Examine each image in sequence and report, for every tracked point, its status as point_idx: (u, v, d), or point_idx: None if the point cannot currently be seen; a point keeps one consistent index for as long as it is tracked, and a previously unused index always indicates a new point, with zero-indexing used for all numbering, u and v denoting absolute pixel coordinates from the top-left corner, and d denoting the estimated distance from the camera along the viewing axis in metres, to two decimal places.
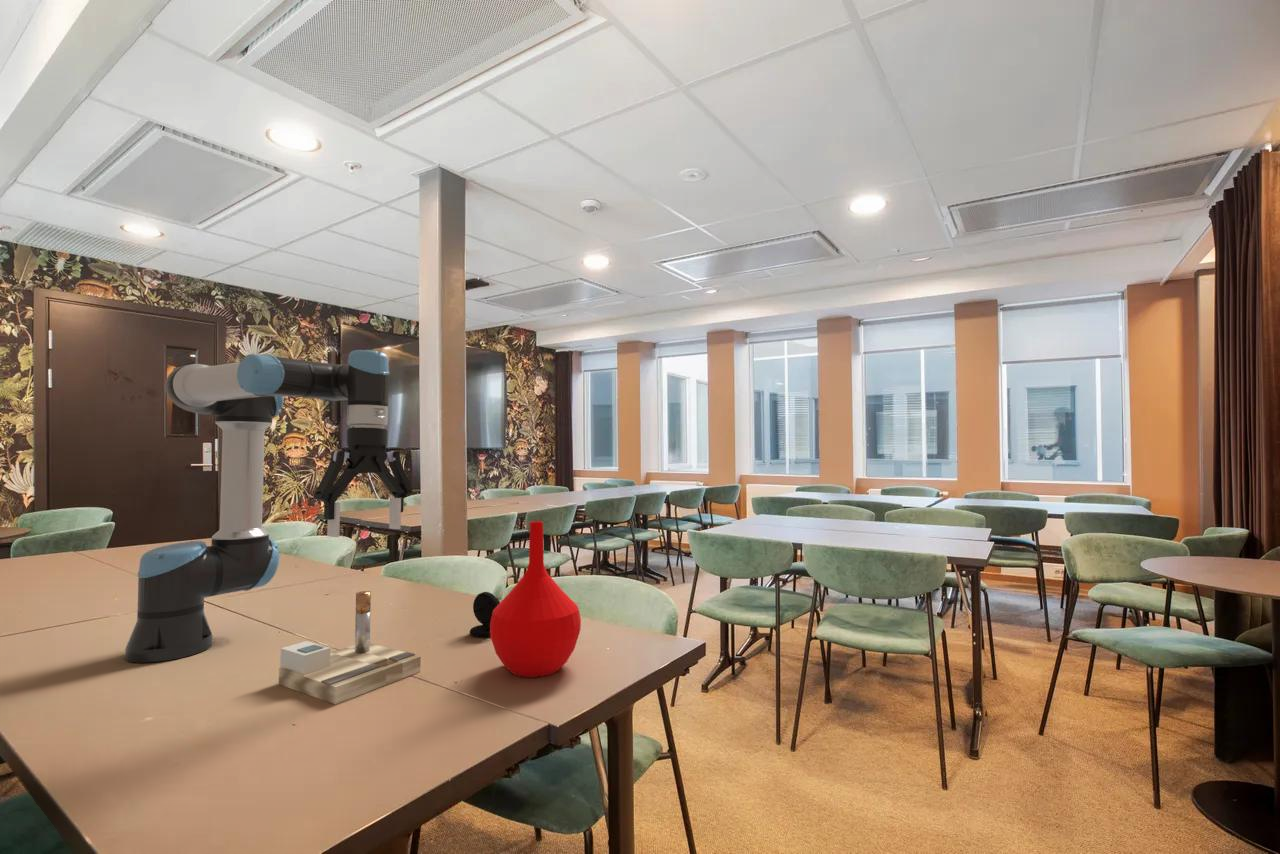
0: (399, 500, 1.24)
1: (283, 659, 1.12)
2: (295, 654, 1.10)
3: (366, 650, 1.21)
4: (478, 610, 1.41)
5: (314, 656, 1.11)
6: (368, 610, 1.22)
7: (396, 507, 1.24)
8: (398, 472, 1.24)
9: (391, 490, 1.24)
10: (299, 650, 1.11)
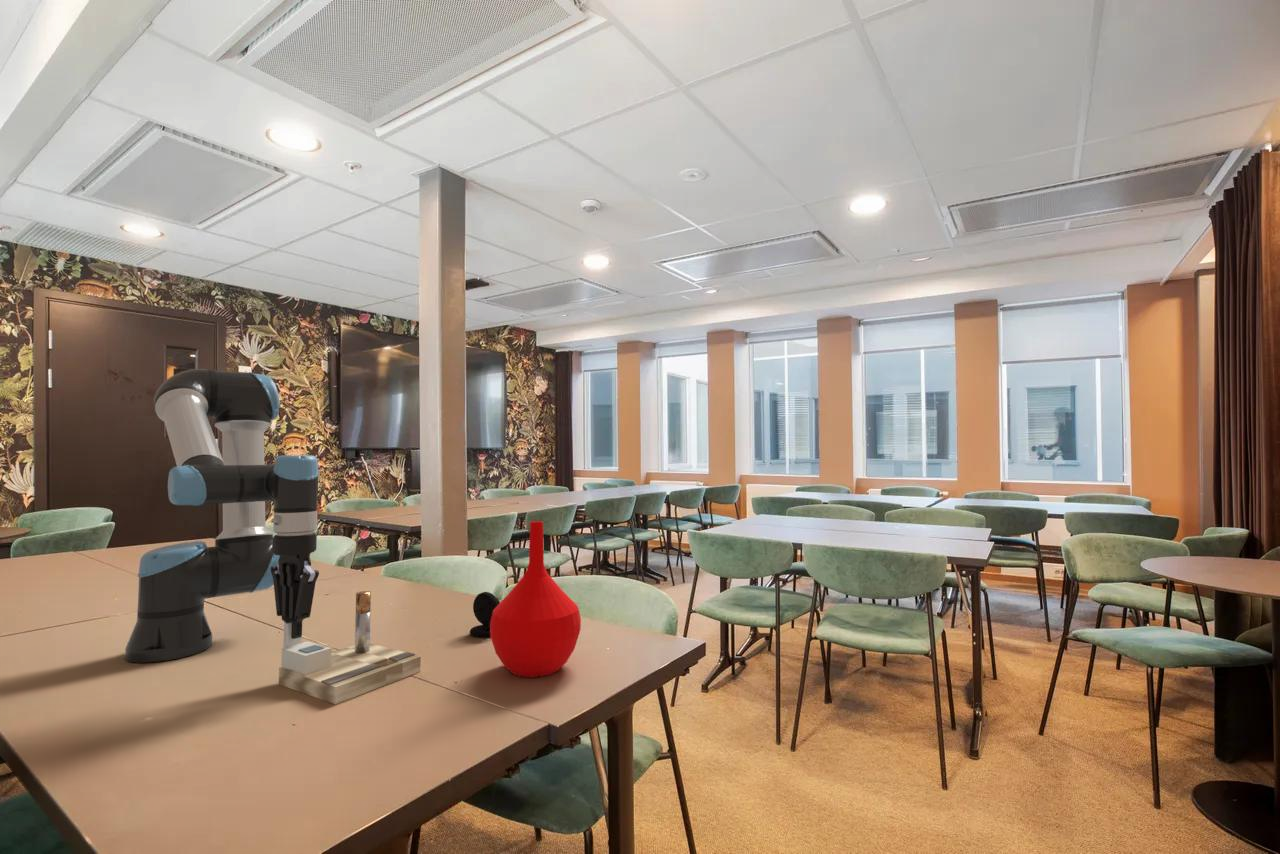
0: (286, 625, 1.14)
1: (284, 659, 1.12)
2: (296, 654, 1.10)
3: (366, 650, 1.21)
4: (478, 610, 1.41)
5: (315, 657, 1.10)
6: (368, 610, 1.22)
7: None
8: None
9: None
10: (301, 651, 1.11)
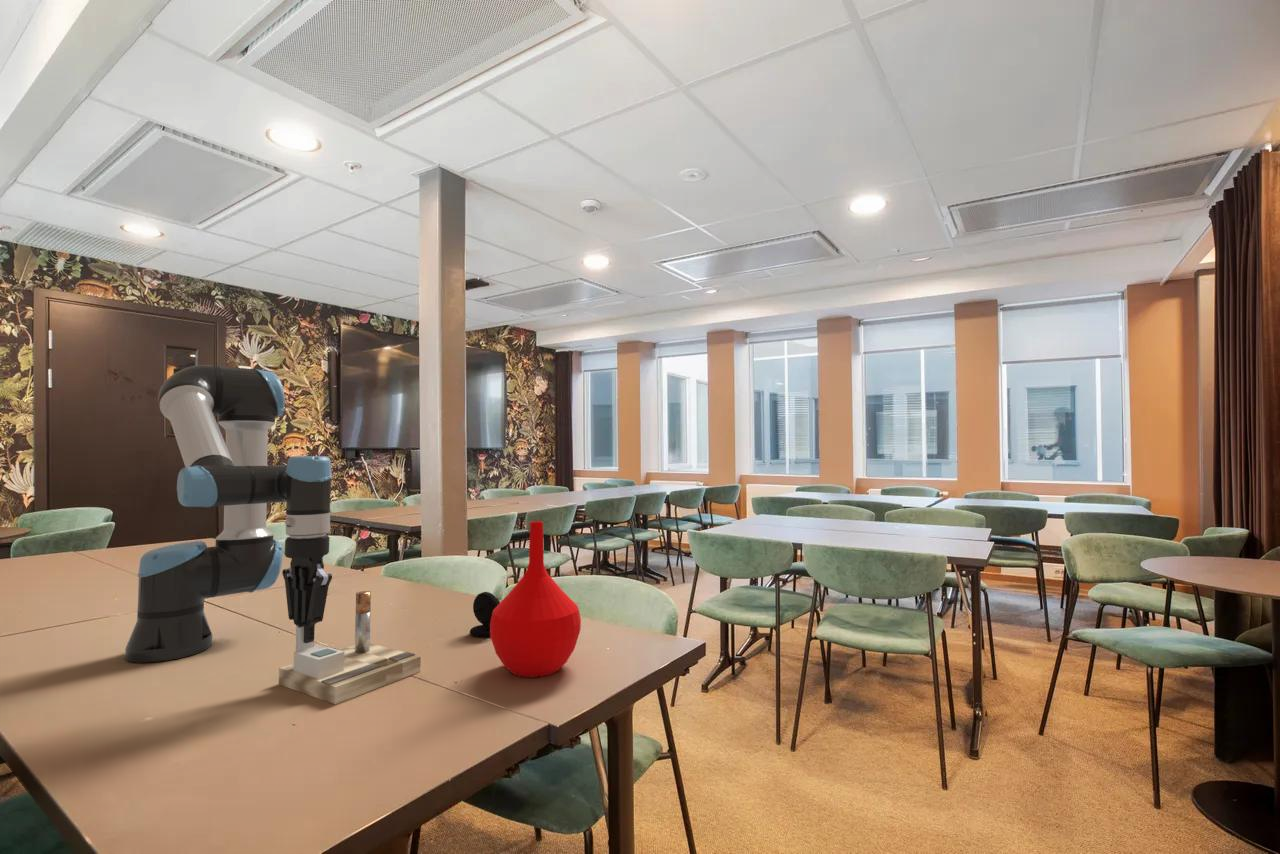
0: (299, 629, 1.12)
1: (296, 663, 1.10)
2: (309, 658, 1.08)
3: (366, 650, 1.21)
4: (478, 610, 1.41)
5: (328, 660, 1.08)
6: (368, 610, 1.22)
7: None
8: None
9: None
10: (313, 655, 1.09)
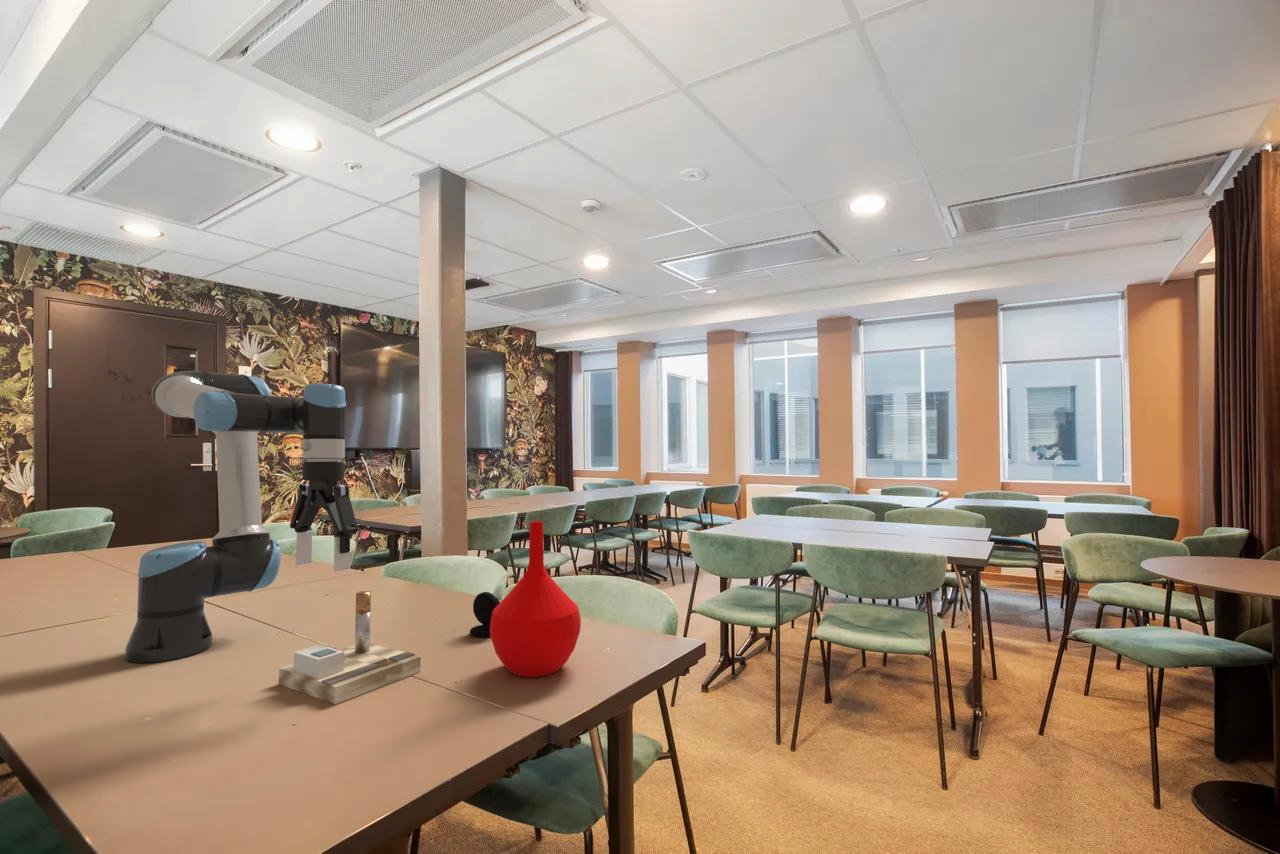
0: (335, 539, 1.13)
1: (296, 663, 1.10)
2: (309, 658, 1.08)
3: (366, 650, 1.21)
4: (478, 610, 1.41)
5: (328, 660, 1.08)
6: (368, 610, 1.22)
7: None
8: None
9: None
10: (313, 654, 1.09)
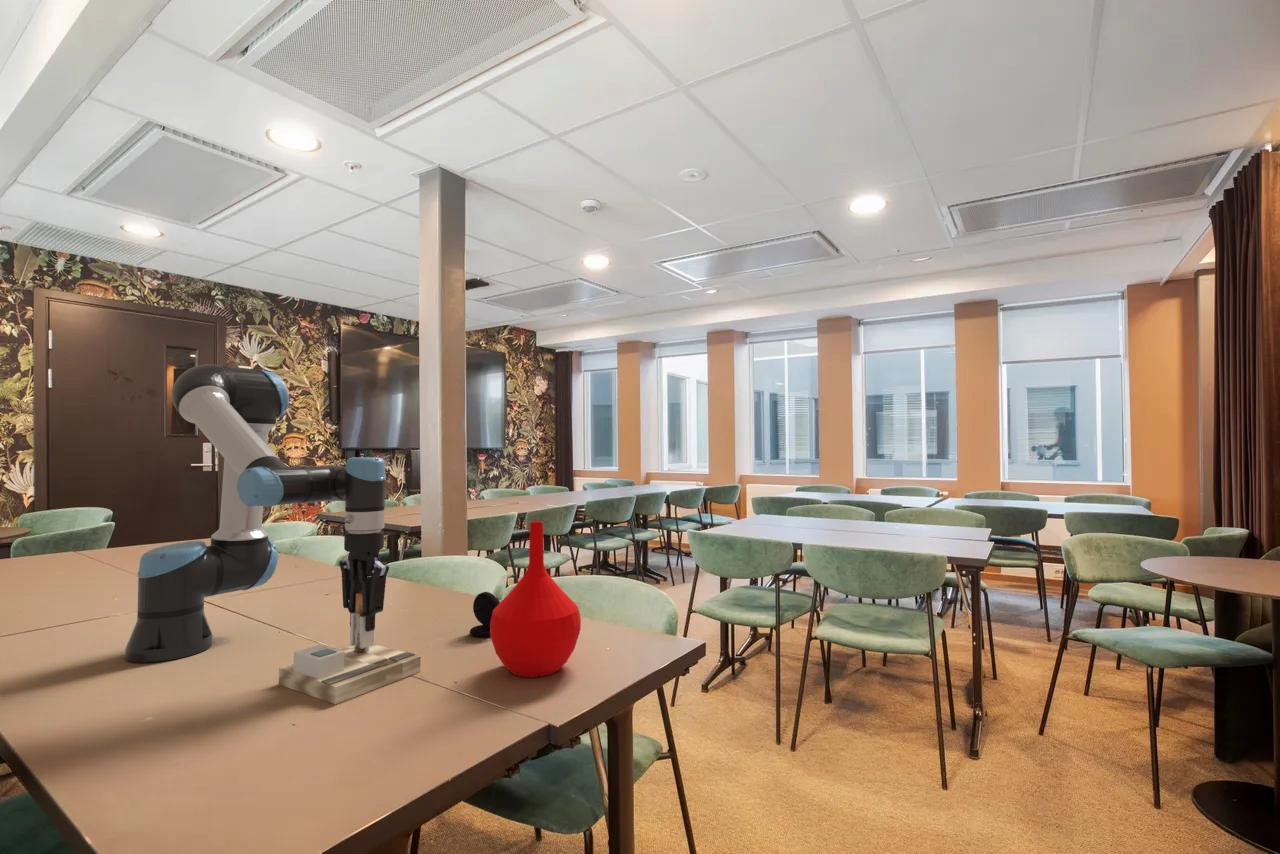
0: (361, 618, 1.20)
1: (296, 663, 1.10)
2: (309, 658, 1.08)
3: (366, 650, 1.21)
4: (478, 610, 1.41)
5: (328, 660, 1.08)
6: None
7: None
8: None
9: None
10: (313, 654, 1.09)
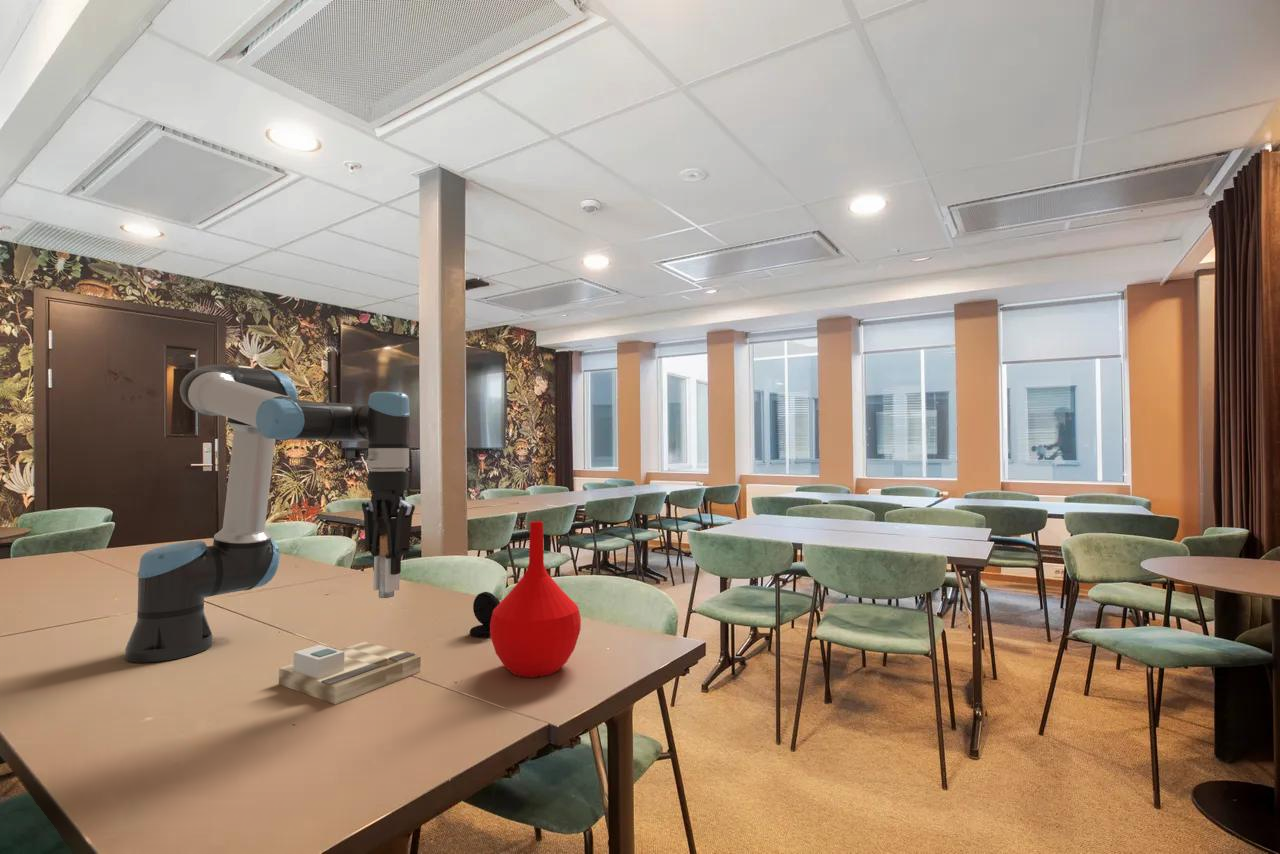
0: (386, 561, 1.14)
1: (296, 663, 1.10)
2: (309, 658, 1.08)
3: (391, 595, 1.15)
4: (478, 610, 1.41)
5: (328, 660, 1.08)
6: None
7: None
8: None
9: None
10: (313, 654, 1.09)
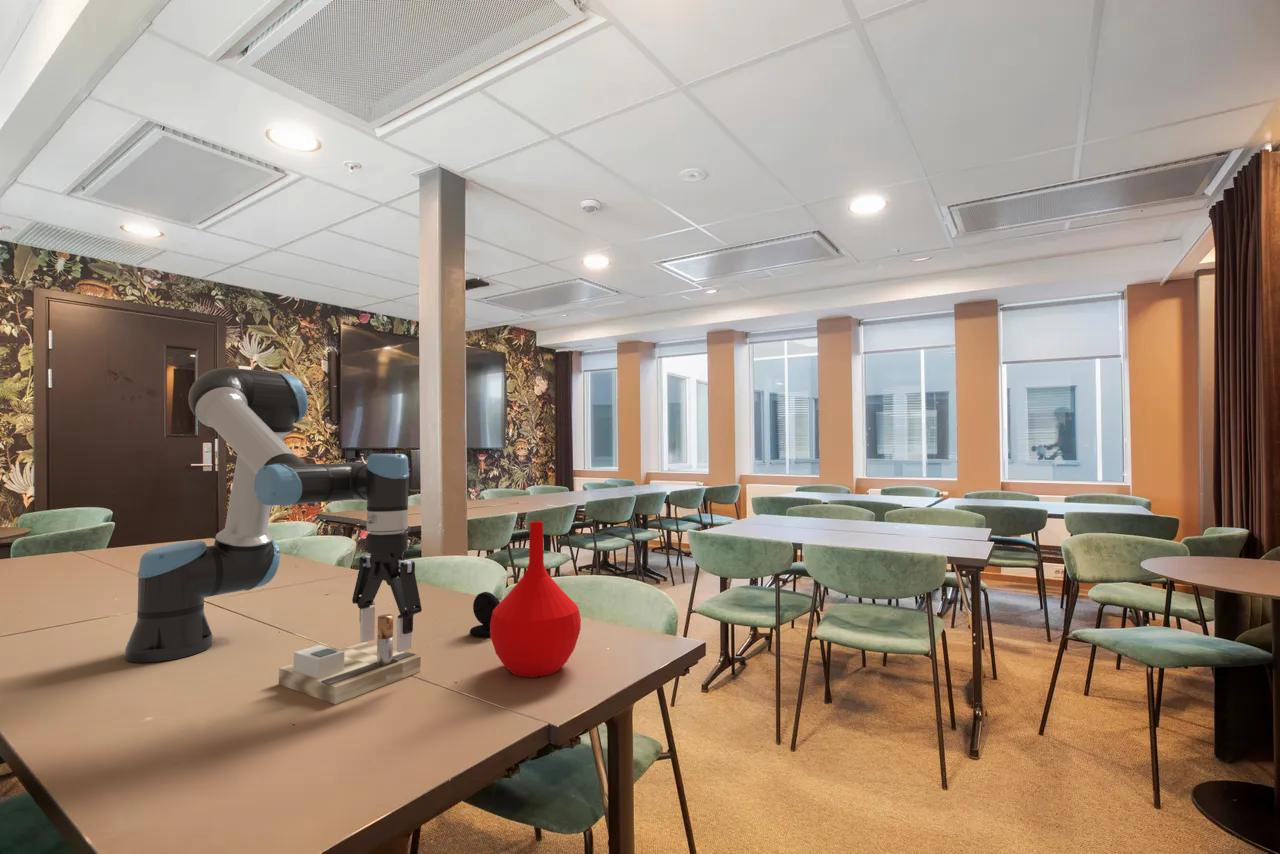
0: (398, 620, 1.11)
1: (296, 663, 1.10)
2: (309, 658, 1.08)
3: None
4: (478, 610, 1.41)
5: (328, 660, 1.08)
6: (391, 634, 1.15)
7: None
8: None
9: None
10: (313, 654, 1.09)
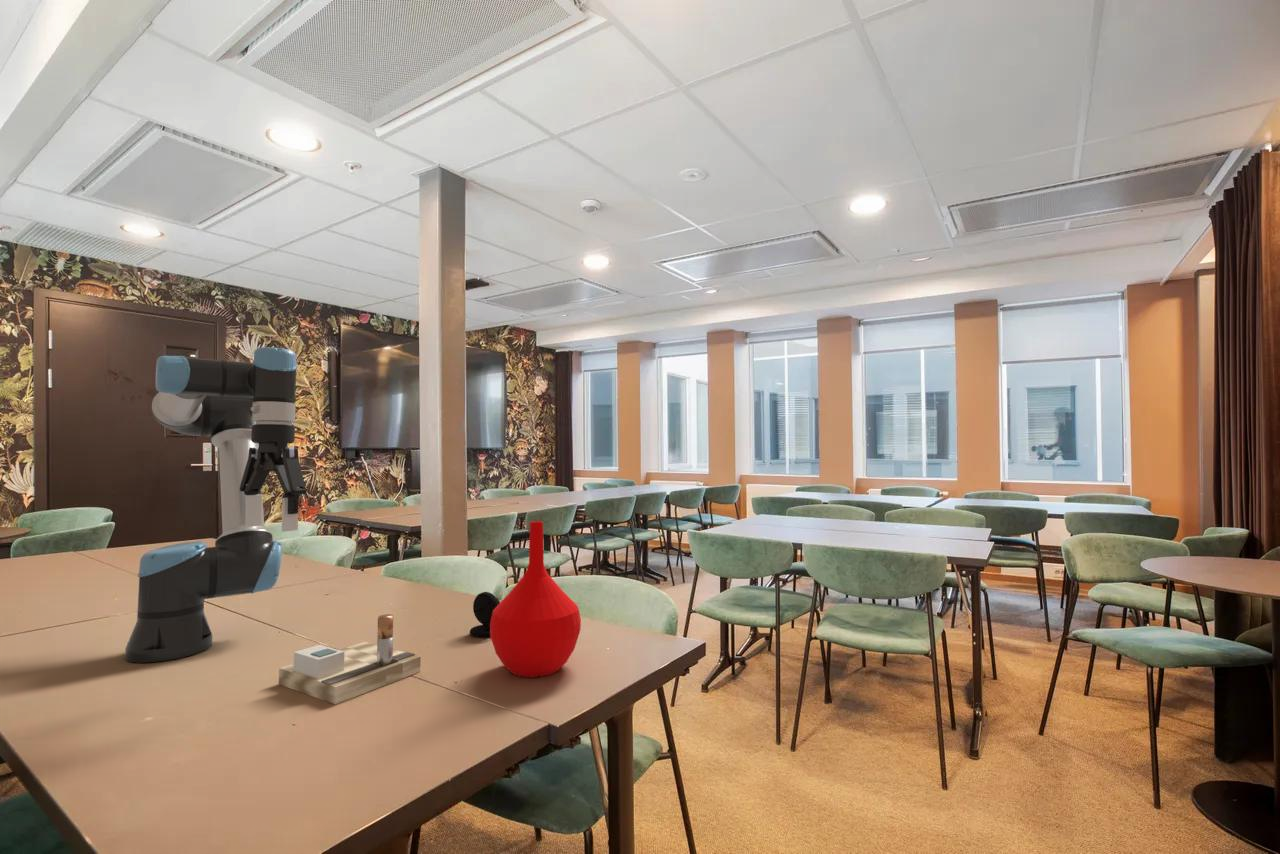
0: (283, 500, 1.15)
1: (296, 663, 1.10)
2: (309, 658, 1.08)
3: None
4: (478, 610, 1.41)
5: (328, 660, 1.08)
6: (391, 634, 1.15)
7: None
8: None
9: None
10: (313, 654, 1.09)
